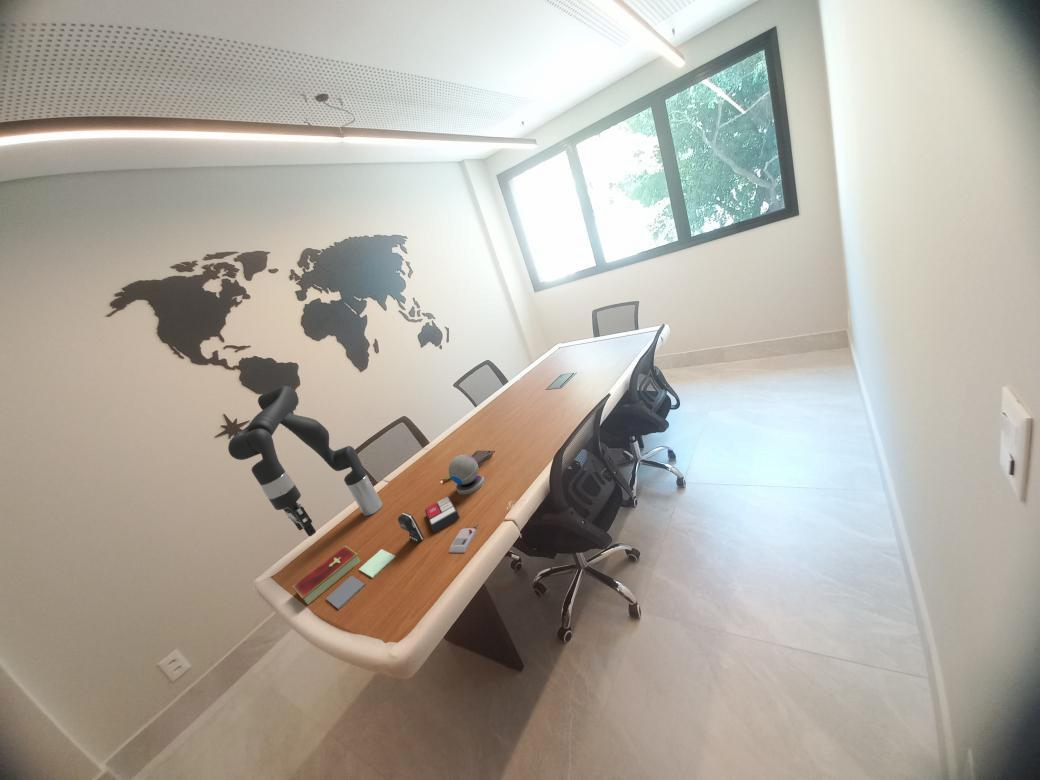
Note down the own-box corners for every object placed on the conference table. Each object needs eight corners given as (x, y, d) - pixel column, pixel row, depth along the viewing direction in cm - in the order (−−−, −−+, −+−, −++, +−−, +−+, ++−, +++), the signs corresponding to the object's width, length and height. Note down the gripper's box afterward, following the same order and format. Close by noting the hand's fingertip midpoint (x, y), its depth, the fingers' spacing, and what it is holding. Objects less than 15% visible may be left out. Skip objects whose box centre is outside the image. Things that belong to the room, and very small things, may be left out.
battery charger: (407, 541, 144) (394, 517, 141) (415, 534, 147) (402, 510, 143) (417, 545, 140) (404, 521, 136) (425, 538, 142) (412, 514, 139)
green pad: (359, 570, 138) (358, 569, 137) (382, 550, 144) (381, 549, 144) (372, 578, 131) (372, 577, 131) (395, 556, 138) (395, 555, 138)
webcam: (489, 477, 168) (477, 449, 163) (472, 496, 158) (459, 466, 154) (468, 475, 176) (456, 448, 171) (451, 493, 166) (438, 465, 161)
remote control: (447, 558, 129) (443, 551, 128) (467, 525, 142) (464, 518, 141) (463, 558, 126) (459, 551, 125) (481, 524, 139) (479, 518, 138)
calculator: (448, 494, 159) (456, 509, 146) (452, 503, 161) (460, 518, 147) (423, 508, 156) (429, 524, 142) (428, 516, 157) (434, 533, 144)
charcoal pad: (326, 599, 129) (325, 598, 129) (352, 576, 136) (351, 575, 135) (338, 609, 122) (338, 608, 122) (365, 585, 129) (364, 584, 129)
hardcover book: (297, 594, 138) (291, 585, 136) (349, 552, 151) (344, 544, 150) (307, 606, 129) (301, 598, 128) (362, 561, 143) (357, 553, 141)
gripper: (261, 494, 116) (288, 534, 121) (275, 502, 106) (304, 545, 112) (285, 479, 121) (310, 518, 126) (301, 485, 112) (327, 527, 117)
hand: (307, 531), depth 119 cm, fingers open, 8 cm apart
